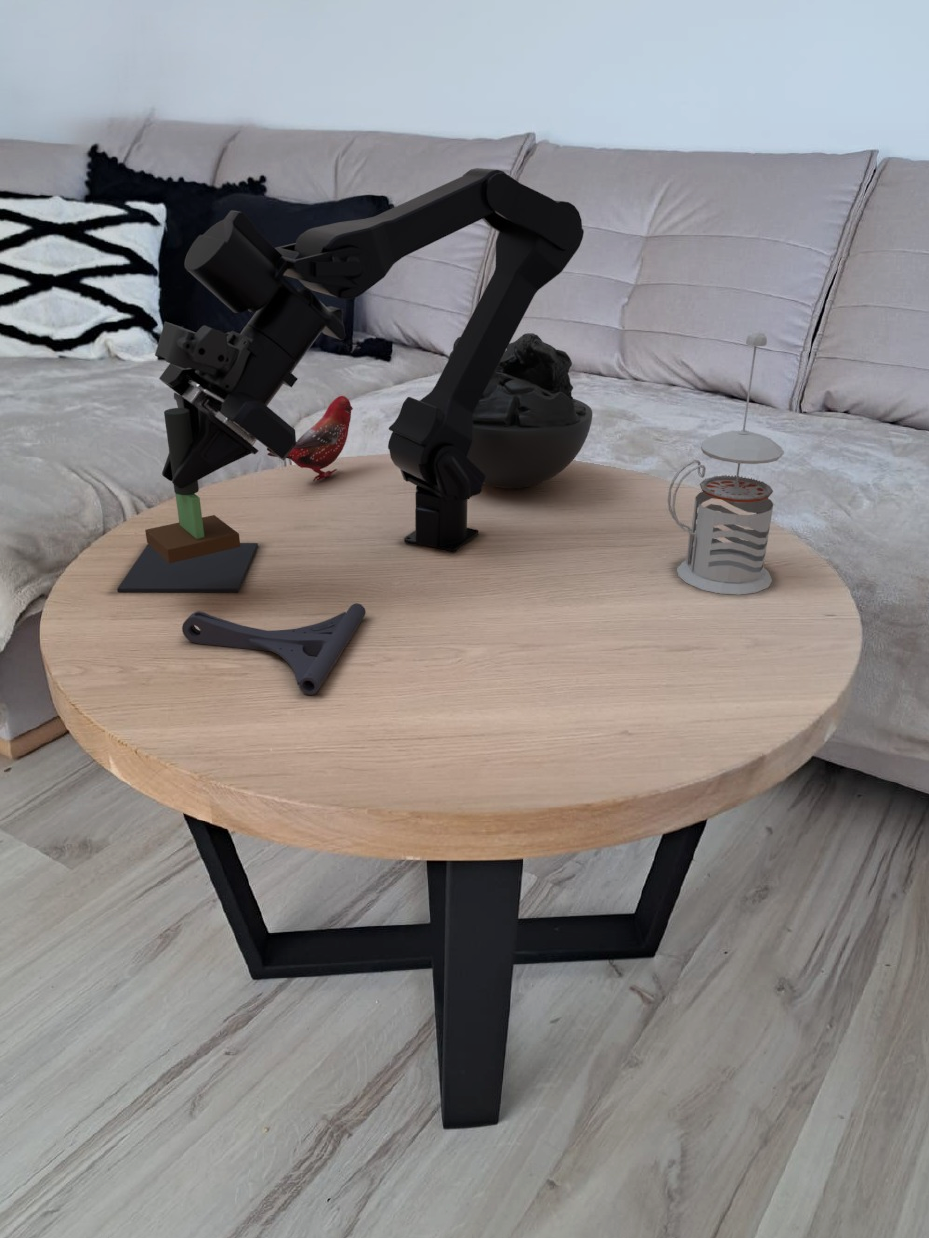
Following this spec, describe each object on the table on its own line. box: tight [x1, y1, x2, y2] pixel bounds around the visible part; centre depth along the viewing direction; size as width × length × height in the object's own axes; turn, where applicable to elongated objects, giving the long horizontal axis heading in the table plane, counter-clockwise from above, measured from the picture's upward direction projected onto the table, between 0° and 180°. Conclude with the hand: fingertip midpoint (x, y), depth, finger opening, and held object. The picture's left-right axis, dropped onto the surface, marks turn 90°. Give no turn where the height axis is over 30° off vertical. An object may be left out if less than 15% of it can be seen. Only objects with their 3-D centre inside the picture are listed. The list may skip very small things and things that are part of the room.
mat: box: [116, 542, 259, 593], centre depth 105 cm, size 12×12×1 cm
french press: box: [667, 331, 785, 596], centre depth 99 cm, size 10×12×25 cm
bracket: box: [181, 602, 367, 696], centre depth 89 cm, size 14×15×3 cm
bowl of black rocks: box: [447, 332, 594, 489], centre depth 126 cm, size 20×20×19 cm
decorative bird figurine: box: [266, 395, 354, 482], centre depth 127 cm, size 3×18×10 cm, turn 150°
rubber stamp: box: [144, 407, 241, 563], centre depth 92 cm, size 7×6×13 cm
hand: (171, 481), depth 91 cm, fingers closed on rubber stamp, 2 cm apart
